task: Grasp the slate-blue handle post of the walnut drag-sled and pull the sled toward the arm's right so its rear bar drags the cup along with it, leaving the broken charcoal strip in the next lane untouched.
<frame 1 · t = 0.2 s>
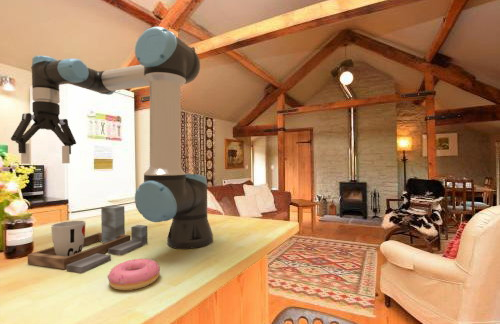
hand: (47, 163, 92), 27 cm above the counter, fingers open, 13 cm apart
doughnut: (134, 282, 61), on the counter
sled: (86, 231, 81), point 6 cm above the counter, slide at 0.0 cm
broken strip: (109, 257, 77), on the counter
cup: (69, 259, 76), resting in sled
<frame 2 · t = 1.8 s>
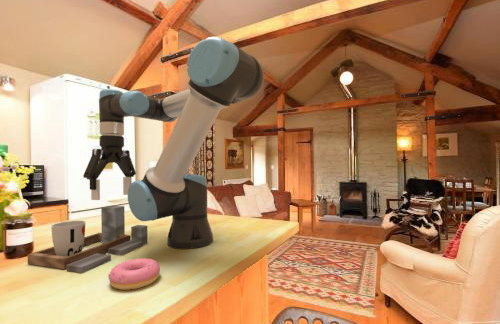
hand: (112, 197, 91), 16 cm above the counter, fingers open, 13 cm apart
nothing on the counter moved.
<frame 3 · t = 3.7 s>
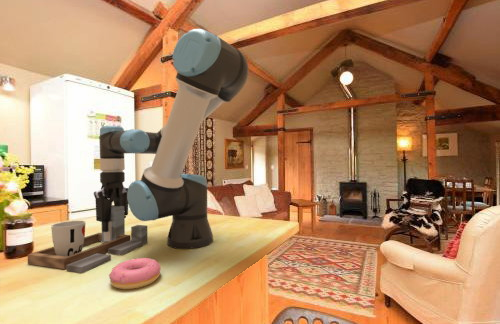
hand: (113, 238, 91), 1 cm above the counter, fingers closed on sled, 4 cm apart
sled: (86, 231, 81), point 6 cm above the counter, slide at 0.0 cm, touching gripper
everything else where it was.
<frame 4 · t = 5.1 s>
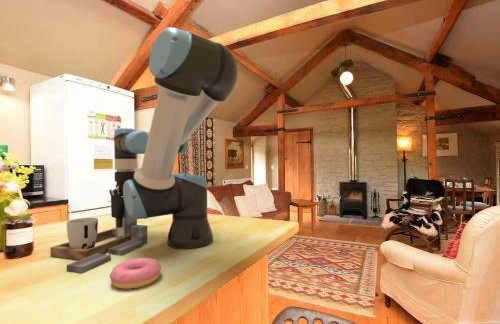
hand: (126, 234, 97), 1 cm above the counter, fingers closed on sled, 4 cm apart
sled: (103, 227, 87), point 6 cm above the counter, slide at 6.1 cm, touching gripper
cup: (83, 254, 80), resting in sled
everything else where it was.
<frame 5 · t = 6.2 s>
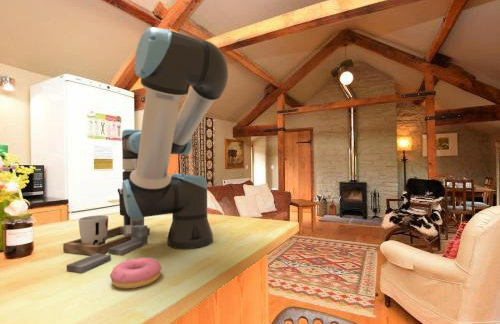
hand: (134, 231, 101), 1 cm above the counter, fingers closed on sled, 4 cm apart
sled: (112, 224, 91), point 6 cm above the counter, slide at 9.9 cm, touching cup, gripper
cup: (94, 249, 84), resting in sled
everything else where it was.
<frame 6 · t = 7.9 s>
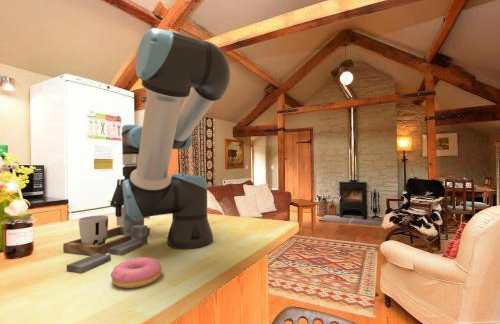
hand: (134, 221, 100), 5 cm above the counter, fingers open, 13 cm apart
sled: (112, 224, 91), point 6 cm above the counter, slide at 9.9 cm
cup: (94, 250, 84), resting in sled
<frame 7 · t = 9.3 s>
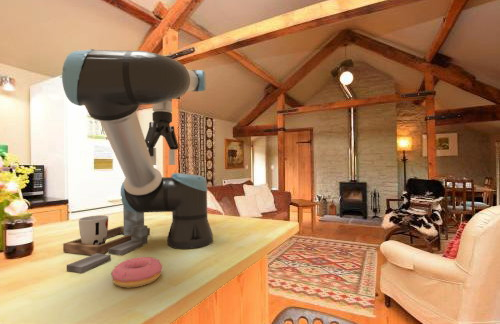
hand: (162, 165, 106), 26 cm above the counter, fingers open, 13 cm apart
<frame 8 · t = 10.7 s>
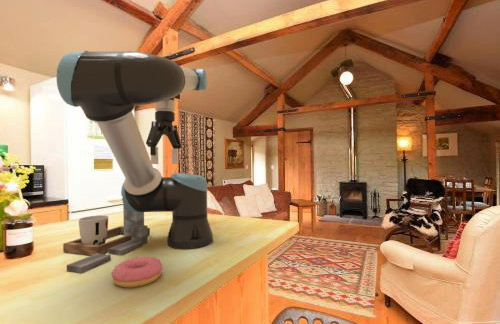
hand: (165, 164, 107), 27 cm above the counter, fingers open, 13 cm apart
at the end: sled slide at 9.9 cm; cup inside the target area (1.3 cm from its centre), resting in sled; cup tilted 0° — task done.
